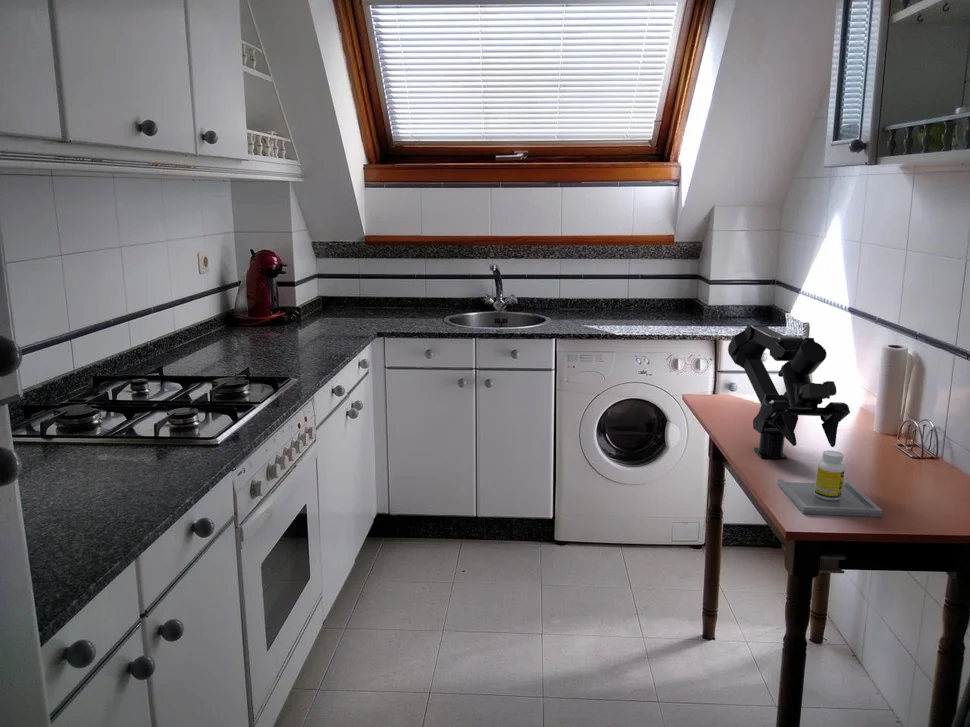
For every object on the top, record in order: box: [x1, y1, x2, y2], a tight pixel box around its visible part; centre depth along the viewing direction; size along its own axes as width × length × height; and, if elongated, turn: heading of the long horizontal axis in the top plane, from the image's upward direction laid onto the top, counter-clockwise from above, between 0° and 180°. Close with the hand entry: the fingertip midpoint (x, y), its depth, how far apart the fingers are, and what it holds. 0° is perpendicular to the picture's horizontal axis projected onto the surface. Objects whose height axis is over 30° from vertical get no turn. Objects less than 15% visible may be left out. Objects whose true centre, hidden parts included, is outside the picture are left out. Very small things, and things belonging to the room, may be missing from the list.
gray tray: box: [777, 478, 883, 518], centre depth 171 cm, size 16×16×1 cm
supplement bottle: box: [814, 449, 846, 501], centre depth 170 cm, size 5×5×10 cm
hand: (814, 445), depth 178 cm, fingers open, 9 cm apart
